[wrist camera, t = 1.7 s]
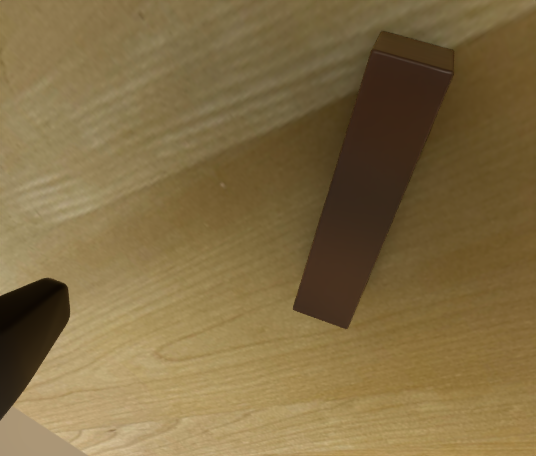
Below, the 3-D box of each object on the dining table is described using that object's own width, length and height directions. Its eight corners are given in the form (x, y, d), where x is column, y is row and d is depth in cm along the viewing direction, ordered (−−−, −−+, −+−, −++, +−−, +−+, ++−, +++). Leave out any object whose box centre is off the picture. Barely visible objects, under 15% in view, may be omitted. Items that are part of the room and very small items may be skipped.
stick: (356, 292, 20) (347, 330, 19) (305, 275, 21) (291, 310, 19) (454, 50, 14) (454, 72, 13) (381, 29, 15) (371, 48, 13)
